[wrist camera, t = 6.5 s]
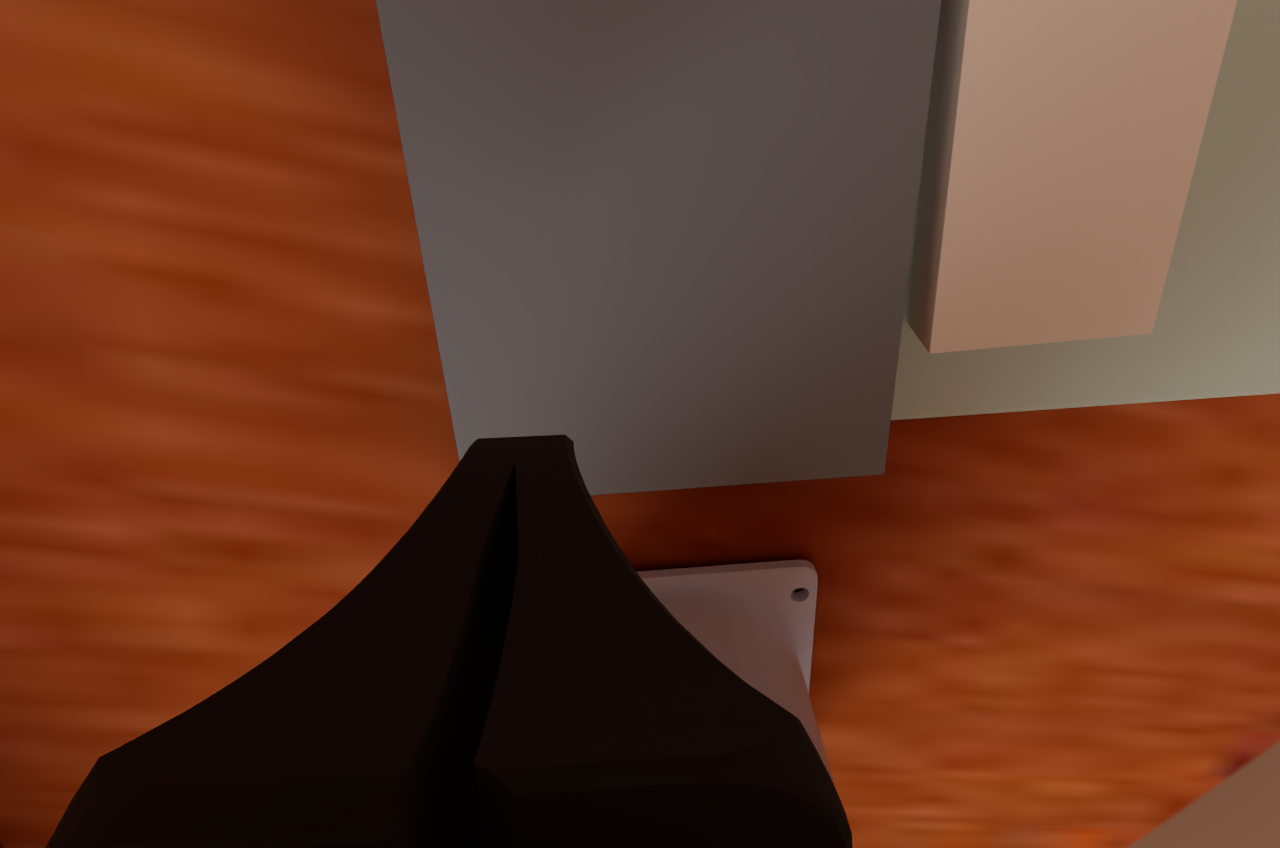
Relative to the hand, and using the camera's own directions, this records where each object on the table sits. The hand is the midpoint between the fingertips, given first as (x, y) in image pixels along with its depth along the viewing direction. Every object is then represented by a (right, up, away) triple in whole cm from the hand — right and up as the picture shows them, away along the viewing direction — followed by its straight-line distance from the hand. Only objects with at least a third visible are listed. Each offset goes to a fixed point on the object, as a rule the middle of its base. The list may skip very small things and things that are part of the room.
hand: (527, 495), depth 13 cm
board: (+2, +6, +7) cm, 10 cm away
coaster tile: (+10, +7, +7) cm, 14 cm away
